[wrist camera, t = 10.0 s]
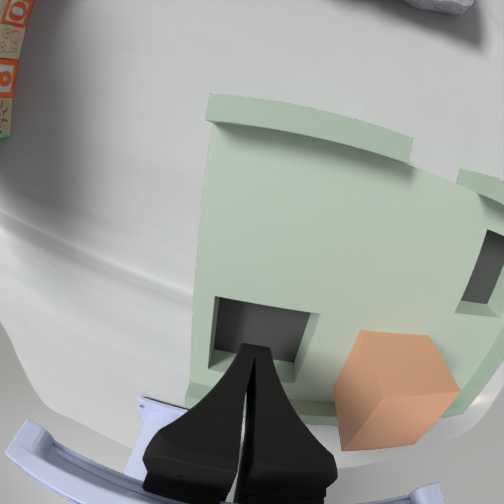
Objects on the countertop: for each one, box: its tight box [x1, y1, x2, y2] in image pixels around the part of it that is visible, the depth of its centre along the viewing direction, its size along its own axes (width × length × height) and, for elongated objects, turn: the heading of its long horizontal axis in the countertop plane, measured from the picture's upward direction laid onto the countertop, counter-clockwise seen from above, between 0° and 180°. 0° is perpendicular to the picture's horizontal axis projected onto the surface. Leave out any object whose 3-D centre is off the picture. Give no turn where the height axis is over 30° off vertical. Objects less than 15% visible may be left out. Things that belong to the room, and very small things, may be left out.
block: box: [332, 330, 461, 451], centre depth 11 cm, size 4×4×4 cm
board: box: [185, 94, 504, 425], centre depth 13 cm, size 16×21×3 cm
